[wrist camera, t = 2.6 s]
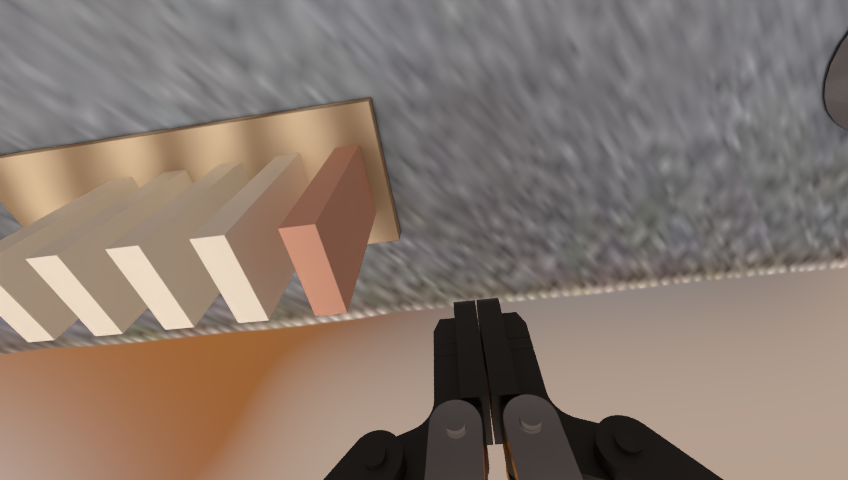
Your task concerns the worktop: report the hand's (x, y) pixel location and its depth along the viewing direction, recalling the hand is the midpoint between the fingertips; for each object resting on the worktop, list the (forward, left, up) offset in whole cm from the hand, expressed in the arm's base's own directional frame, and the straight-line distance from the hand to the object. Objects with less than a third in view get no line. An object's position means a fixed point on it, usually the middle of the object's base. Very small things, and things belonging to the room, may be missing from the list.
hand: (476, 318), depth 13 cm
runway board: (+19, 0, -15) cm, 24 cm away
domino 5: (+7, 0, -14) cm, 15 cm away
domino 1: (+23, 0, -14) cm, 27 cm away
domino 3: (+15, 0, -14) cm, 20 cm away
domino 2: (+19, 0, -14) cm, 23 cm away
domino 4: (+11, 0, -14) cm, 17 cm away
